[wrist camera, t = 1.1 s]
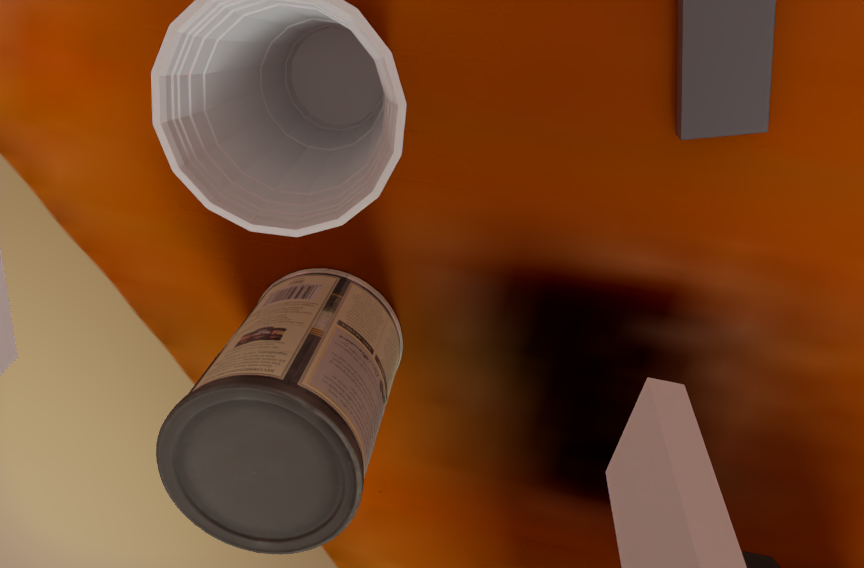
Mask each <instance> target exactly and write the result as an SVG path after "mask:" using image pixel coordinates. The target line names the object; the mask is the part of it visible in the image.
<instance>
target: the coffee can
mask: <svg viewBox="0 0 864 568" xmlns="http://www.w3.org/2000/svg"><path fill="white" fill-rule="evenodd" d="M402 351H403V339H402V332H401V327H400V324H399V321H398V319H397V316H396V314H395V313H394V311H393V309H392V308H391V306H390V305H389V303H388V302H387V301H386V300H385V298H384V297H383V296H382V294H380V293H379V292H378V291H377V290H375V289H374V288H373V287H372V286H371V285H369V284H368V283H366V282H365V281H363V280H362V279H360V278H358V277H356V276H353V275H351V274H349V273H346V272H342V271H339V270H333V269H329V268H313V269H305V270H300V271H297V272H293V273H290V274H288V275H286V276H284V277H282V278H281V279H279V280H277V281H276V282H274V283H273V284H272V285H271V286H270V287H269V288H268V289H267V290H266V291H265V292H264V294H263V295H262V296H261V298H260V300H259V302H258V303H257V305H256V306H255V307H254V309H253V310H252V311H251V313H250V314H249V315H248V316H247V318H246V319H245V321H244V322H243V323H242V324H241V326H240V327H239V328H238V330H237V331H236V332H235V334H234V335H233V336H232V337H231V339H230V340H229V341H228V343H227V344H226V345H225V347H224V348H223V349H222V351H221V352H220V353H219V354H218V356H217V357H216V358H215V359H214V361H213V362H212V363H211V364H210V366H209V367H208V369H207V370H206V371H205V373H204V374H203V375H202V377H201V378H200V379H199V380H198V382H197V383H196V384H195V386H194V387H193V388H192V390H191V391H190V392H189V394H188V395H187V396H185V397H184V398H183V399H182V400H181V401H180V402H179V403H178V404H177V405H176V406H175V407H174V409H173V410H172V411H171V412H170V413H169V415H168V416H167V418H166V419H165V421H164V423H163V425H162V427H161V429H160V432H159V435H158V439H157V445H156V446H157V449H156V450H157V451H156V456H157V464H158V469H159V473H160V477H161V480H162V482H163V485H164V487H165V489H166V491H167V493H168V494H169V496H170V498H171V499H172V500H173V502H174V503H175V505H176V506H177V507H178V508H179V509H180V511H181V512H182V513H183V514H184V515H185V516H186V517H187V518H188V519H190V520H191V521H192V522H193V523H194V524H195V525H196V526H198V527H200V528H201V529H202V530H203V531H205V532H206V533H208V534H209V535H211V536H213V537H215V538H217V539H218V540H221V541H222V542H224V543H227V544H229V545H232V546H235V547H238V548H241V549H245V550H248V551H253V552H257V553H266V554H293V553H299V552H303V551H307V550H311V549H314V548H316V547H318V546H321V545H323V544H325V543H327V542H329V541H331V540H332V539H333V538H335V537H336V536H337V535H339V534H340V533H341V532H342V531H343V530H344V529H345V528H346V527H347V526H348V524H349V523H350V522H351V520H352V519H353V517H354V515H355V514H356V511H357V509H358V507H359V504H360V501H361V496H362V491H363V484H364V477H365V474H366V471H367V467H368V464H369V461H370V457H371V454H372V451H373V447H374V444H375V440H376V437H377V434H378V430H379V427H380V424H381V420H382V417H383V414H384V410H385V407H386V403H387V400H388V397H389V393H390V390H391V387H392V383H393V380H394V376H395V373H396V371H397V369H398V367H399V364H400V361H401V357H402Z"/></svg>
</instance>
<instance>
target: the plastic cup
mask: <svg viewBox="0 0 864 568" xmlns="http://www.w3.org/2000/svg"><path fill="white" fill-rule="evenodd" d="M151 89H152V120H153V126H154V128H155V131H156V133H157V136H158V138H159V140H160V143H161V145H162V147H163V150H164V152H165V155H166V157H167V159H168V162H169V164H170V166H171V169H172V171H173V172H174V174H175V175H176V176H177V177H178V178H179V179H180V180H181V181H182V182H183V183H184V184H185V185H186V187H187V188H188V189H189V190H190V191H191V192H192V193H193V194H194V195H195V196H196V197H197V198H198V200H199V201H200V202H201V203H202V204H203V205H204V206H205V207H206V208H207V209H208V210H210V211H212V212H214V213H216V214H218V215H220V216H222V217H224V218H226V219H228V220H229V221H231V222H233V223H235V224H237V225H239V226H241V227H243V228H245V229H247V230H249V231H251V232H259V233H267V234H275V235H283V236H291V237H301V236H304V235H308V234H312V233H316V232H319V231H323V230H327V229H331V228H335V227H338V226H342V225H343V224H345V223H346V222H347V221H349V220H350V219H351V218H352V217H354V216H355V215H356V214H358V213H359V212H360V211H361V210H363V209H364V208H365V207H366V206H368V205H369V204H370V203H372V202H373V201H374V200H375V199H377V198H378V197H379V196H380V194H381V192H382V190H383V188H384V186H385V184H386V183H387V181H388V179H389V177H390V175H391V173H392V172H393V170H394V168H395V166H396V164H397V162H398V161H399V159H400V157H401V155H402V146H403V136H404V126H405V116H406V106H407V104H406V100H405V97H404V93H403V90H402V86H401V83H400V80H399V76H398V73H397V69H396V66H395V62H394V59H393V56H392V52H391V51H390V50H389V49H388V47H387V46H386V45H385V43H384V42H383V41H382V39H381V38H380V37H379V36H378V34H377V33H376V32H375V30H374V29H373V28H372V27H371V25H370V24H369V23H368V21H367V20H366V19H365V17H364V16H363V15H362V14H361V12H360V11H359V10H358V8H356V7H354V6H352V5H351V4H349V3H347V2H346V1H344V0H195V1H194V2H193V3H192V4H191V5H190V6H189V7H188V8H187V9H185V10H184V11H183V12H182V13H181V14H180V15H179V16H178V17H177V18H176V19H175V20H174V21H173V22H172V23H171V24H170V25H169V27H168V30H167V32H166V35H165V38H164V40H163V43H162V45H161V48H160V50H159V53H158V56H157V58H156V61H155V63H154V66H153V69H152V71H151Z"/></svg>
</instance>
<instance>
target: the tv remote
mask: <svg viewBox="0 0 864 568" xmlns="http://www.w3.org/2000/svg"><path fill="white" fill-rule="evenodd" d="M775 8H776V0H678V34H677V116H676V135H677V136H678V137H679V138H680V139H681V140H687V139H697V138H708V137H719V136H730V135H740V134H751V133H762V132H768V121H769V105H770V89H771V72H772V56H773V40H774V24H775Z"/></svg>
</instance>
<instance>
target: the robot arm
mask: <svg viewBox="0 0 864 568" xmlns="http://www.w3.org/2000/svg"><path fill="white" fill-rule="evenodd" d="M16 358H17V351H16V344H15V338H14V331H13V325H12V318H11V312H10V305H9V300H8V293H7V286H6V280H5V274H4V267H3V260H2V254H1V249H0V375H1V374H2V373H3V372H4V371H5V370H6V369H7V368H8V367H9V366H10V365H11V364H12V362H13V361H14V360H15V359H16ZM606 478H607V484H608V490H609V496H610V502H611V508H612V514H613V520H614V526H615V532H616V538H617V544H618V550H619V556H620V562H621V568H780V567H779V565H778V564H777V563H776V561H775V560H774V559H773V558H772V557H769V556H764V555H759V554H754V553H749V552H743V551H741V549H740V546H739V543H738V540H737V538H736V535H735V532H734V529H733V526H732V523H731V520H730V517H729V514H728V511H727V508H726V505H725V502H724V499H723V497H722V494H721V491H720V488H719V485H718V482H717V479H716V476H715V473H714V470H713V467H712V464H711V461H710V458H709V456H708V453H707V450H706V447H705V444H704V441H703V438H702V435H701V432H700V429H699V426H698V423H697V420H696V417H695V415H694V412H693V409H692V406H691V403H690V400H689V397H688V394H687V391H686V388H685V385H684V384H678V383H673V382H668V381H663V380H658V379H653V378H648V377H647V380H646V382H645V384H644V386H643V389H642V391H641V393H640V395H639V398H638V400H637V402H636V404H635V407H634V409H633V411H632V413H631V416H630V418H629V420H628V422H627V425H626V427H625V429H624V432H623V434H622V436H621V438H620V441H619V443H618V445H617V447H616V450H615V452H614V454H613V456H612V459H611V461H610V463H609V465H608V468H607V470H606Z"/></svg>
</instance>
